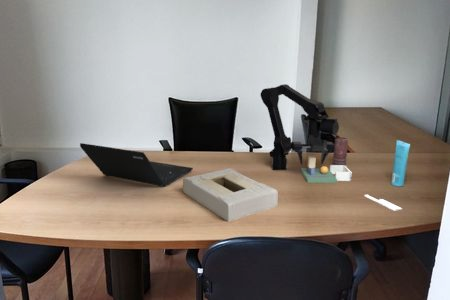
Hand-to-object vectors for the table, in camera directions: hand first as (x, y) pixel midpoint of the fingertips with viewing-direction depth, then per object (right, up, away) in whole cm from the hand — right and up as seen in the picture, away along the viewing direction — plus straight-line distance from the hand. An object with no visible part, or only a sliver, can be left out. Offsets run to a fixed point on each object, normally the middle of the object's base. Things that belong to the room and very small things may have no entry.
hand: (311, 164), depth 175 cm
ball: (+6, -3, +1) cm, 7 cm away
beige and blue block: (0, -4, +1) cm, 4 cm away
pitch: (+3, -6, +2) cm, 7 cm away
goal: (+13, -6, +2) cm, 15 cm away
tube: (+36, -9, -6) cm, 38 cm away
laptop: (-77, -6, -1) cm, 77 cm away
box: (-38, -13, -23) cm, 46 cm away
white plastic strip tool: (+23, -14, -25) cm, 36 cm away
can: (+18, -1, +17) cm, 25 cm away
